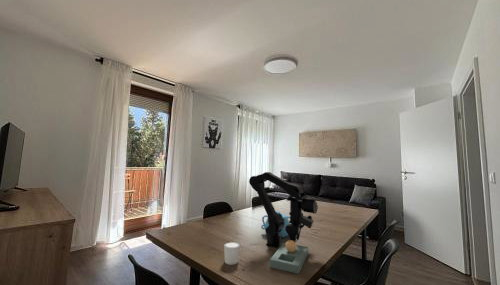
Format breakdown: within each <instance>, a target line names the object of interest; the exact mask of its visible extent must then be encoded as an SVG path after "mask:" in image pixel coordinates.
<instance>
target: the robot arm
mask: <svg viewBox="0 0 500 285" xmlns="http://www.w3.org/2000/svg"><path fill="white" fill-rule="evenodd" d="M267 181H269V182H270V183H272V184H274V185H276V186H278V187H280V188H281V189H282V190H284V192H285V193H286V194H287V195H289V196H288V197H287V198H286V201H288V202H289V204H290V205H289V207H290V208H289V210H290V211H289V213H288V214H289V216H290V218H289V220H288V221H289V224H288V225H287V226H286V227H285V231H286V232H287V234H288V237H289V240H292V241H294V242H295V243H297V240H298V241H299V240H300V236H301V231H302V229H303V228H304V227H307V228H308V229H311V228H312V226H313V224H314V219H313V216H312V215H307V216H305V215H304V213H309V214H317V212H318V206H319V205H318V202H317V199H316V198H308V196H307V194H306V193H305V191H304V188H303V186H301V185H299V184H298V183H297V184H296V183H292V182H289V181H287V180H285V179H283V178H281V177H280V176H277V175H275V174H273V173H272V172H269V171H266V172H265V171H264V172H263V173H261V174H258V175H252V176H251V177H250V178H249V179H248V183H249V185H250V186H251V188H252V190H254V191H255V192H256V193H257V195H258V198H259V200H260V202H261V203H262V206H263V208H264V210H265V213H266V215H268V217H267V218H268V224H269V226H268V227H267V228H266V229H264V231H265V234H266V235H267V236H266V243H265V246H268V247H275V248H279V247H280V245H282V237H281V236H280V232H281V230H282V229H283V228H284V225H285V223H284V221H285V220H284V219H283V217H282V215H281V214H282V213H280V214H278V213H276V212H277V211H276V210H275V207H274V206H273V203H272V201H271V199H270V197H269V195H268V192H267V190H266V189H265V188H266V186H265V182H267ZM303 212H304V213H303ZM291 223H292V224H291Z"/></svg>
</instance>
